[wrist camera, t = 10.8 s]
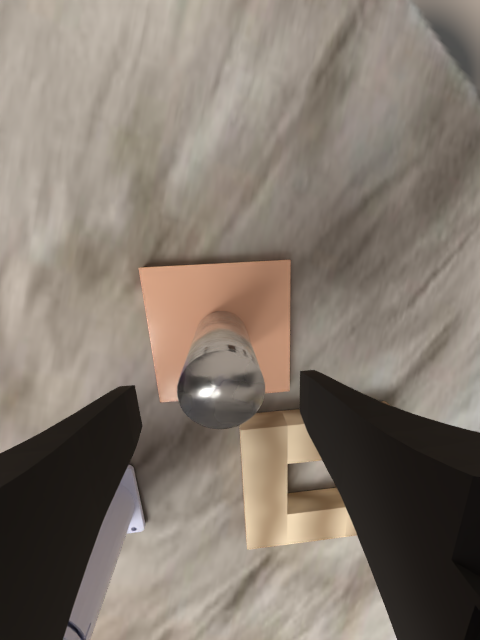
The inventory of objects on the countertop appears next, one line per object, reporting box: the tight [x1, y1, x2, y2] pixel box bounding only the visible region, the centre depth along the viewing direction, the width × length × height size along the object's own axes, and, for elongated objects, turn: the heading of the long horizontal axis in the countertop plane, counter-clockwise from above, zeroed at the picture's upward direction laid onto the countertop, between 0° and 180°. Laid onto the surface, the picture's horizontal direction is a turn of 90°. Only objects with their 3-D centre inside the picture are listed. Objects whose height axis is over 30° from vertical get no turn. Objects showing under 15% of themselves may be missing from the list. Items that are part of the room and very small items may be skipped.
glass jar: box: [177, 311, 265, 429], centre depth 14 cm, size 4×4×8 cm
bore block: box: [239, 401, 389, 550], centre depth 22 cm, size 14×14×2 cm
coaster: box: [139, 260, 290, 403], centre depth 19 cm, size 11×11×1 cm
